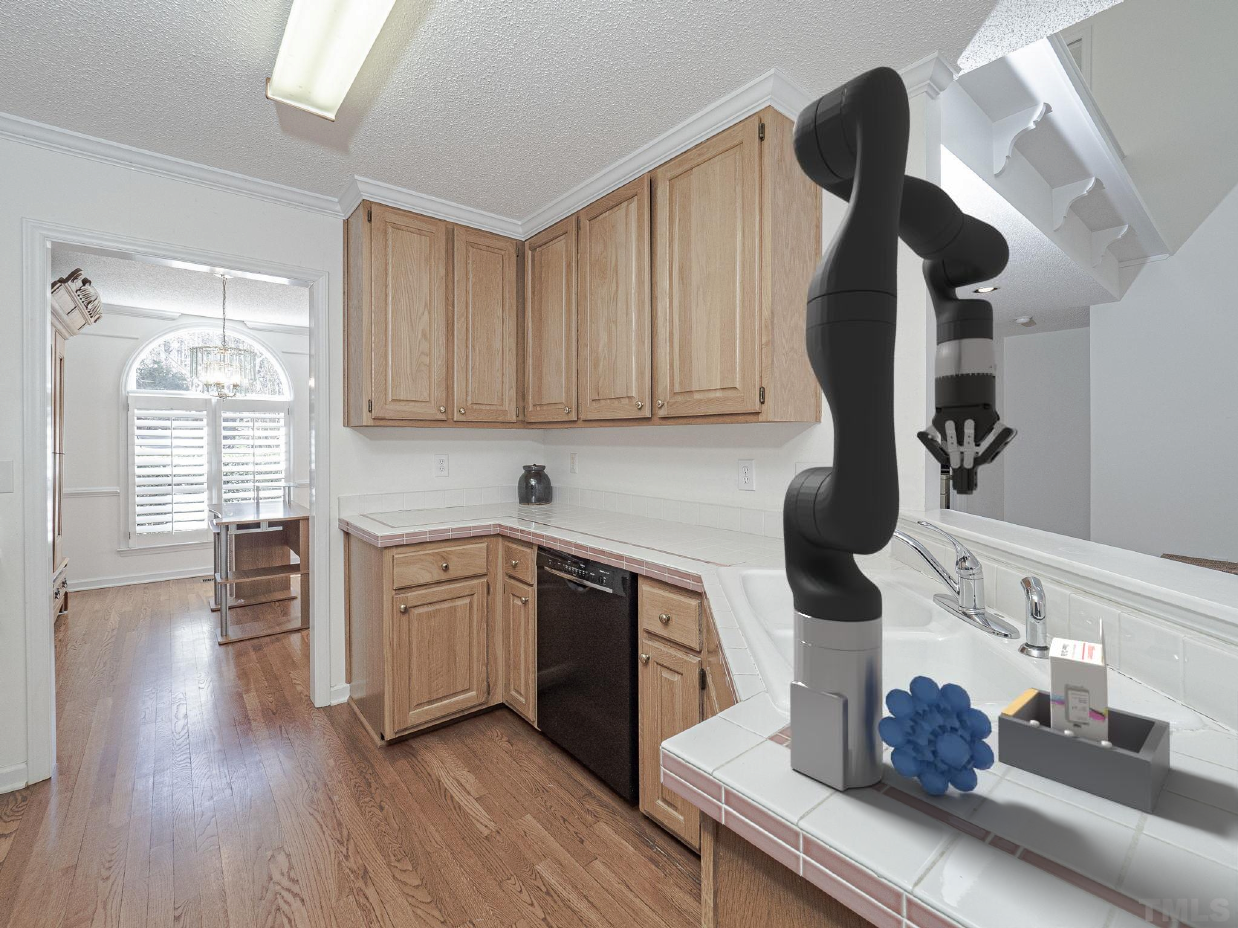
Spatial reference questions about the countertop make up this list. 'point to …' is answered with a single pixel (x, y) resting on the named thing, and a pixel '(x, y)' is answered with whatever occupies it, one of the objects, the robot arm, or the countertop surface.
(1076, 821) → the countertop surface
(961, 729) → the blue flower
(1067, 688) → the ink cartridge box
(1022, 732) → the cartridge dock
